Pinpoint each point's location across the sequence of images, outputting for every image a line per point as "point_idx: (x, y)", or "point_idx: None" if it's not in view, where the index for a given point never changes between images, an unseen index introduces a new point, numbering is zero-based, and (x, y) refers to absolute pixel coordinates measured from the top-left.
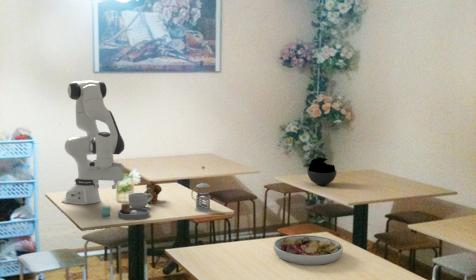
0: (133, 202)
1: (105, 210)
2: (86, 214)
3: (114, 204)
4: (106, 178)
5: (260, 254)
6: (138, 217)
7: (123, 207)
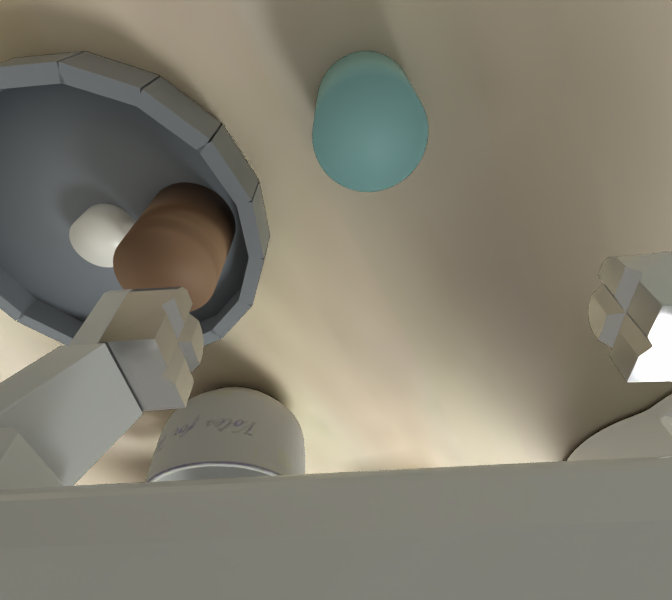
0: (228, 414)
1: (347, 74)
2: (608, 126)
3: (441, 438)
4: (286, 581)
5: None
6: None
7: (167, 216)
